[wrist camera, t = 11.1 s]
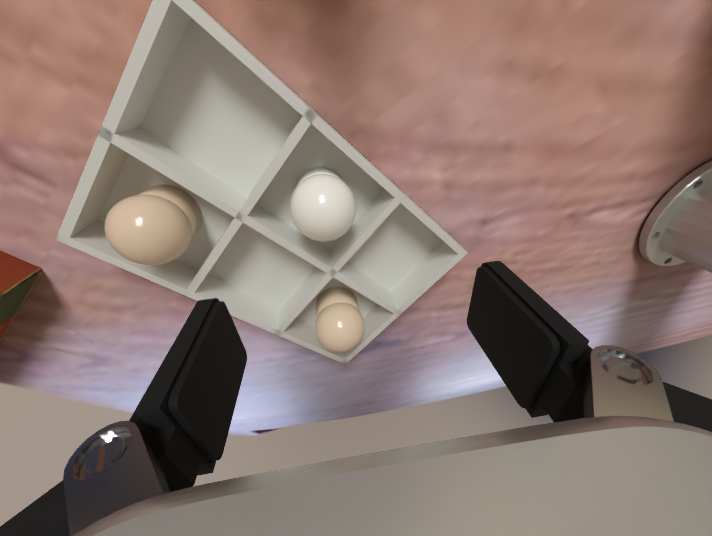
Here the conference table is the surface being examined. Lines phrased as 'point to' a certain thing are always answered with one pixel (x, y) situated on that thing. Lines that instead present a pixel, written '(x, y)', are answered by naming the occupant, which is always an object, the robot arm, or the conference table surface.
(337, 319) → the egg in carton
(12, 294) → the carton
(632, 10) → the conference table surface
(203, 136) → the egg tray
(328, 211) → the loose egg
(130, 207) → the egg in carton
